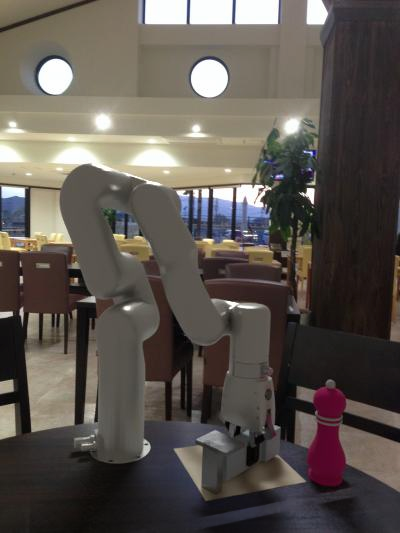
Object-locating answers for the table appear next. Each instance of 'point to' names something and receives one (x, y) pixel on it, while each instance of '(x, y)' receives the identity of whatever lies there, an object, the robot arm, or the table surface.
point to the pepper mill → (327, 437)
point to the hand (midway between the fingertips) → (244, 459)
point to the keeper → (216, 458)
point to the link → (238, 459)
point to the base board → (245, 482)
